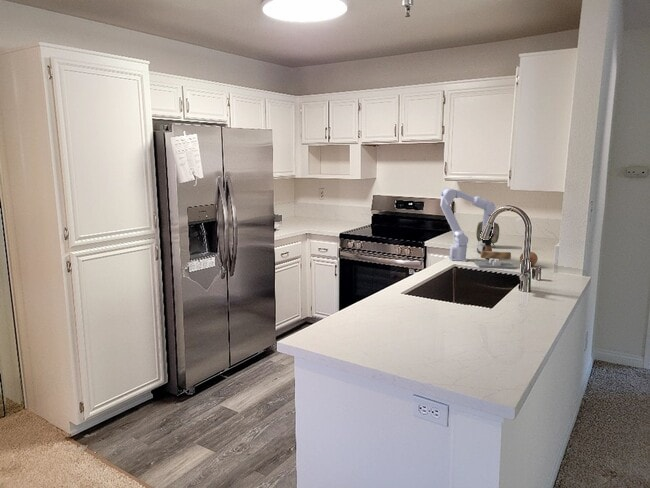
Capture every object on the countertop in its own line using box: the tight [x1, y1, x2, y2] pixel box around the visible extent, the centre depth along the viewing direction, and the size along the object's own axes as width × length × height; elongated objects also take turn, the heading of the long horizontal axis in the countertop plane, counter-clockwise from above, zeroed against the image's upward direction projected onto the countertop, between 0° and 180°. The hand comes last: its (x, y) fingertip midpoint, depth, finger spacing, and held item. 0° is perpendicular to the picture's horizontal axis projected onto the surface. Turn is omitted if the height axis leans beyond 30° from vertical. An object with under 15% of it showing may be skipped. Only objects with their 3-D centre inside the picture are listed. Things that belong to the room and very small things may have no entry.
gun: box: [476, 239, 493, 260], centre depth 300 cm, size 5×27×15 cm, turn 174°
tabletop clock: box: [475, 221, 500, 249], centre depth 330 cm, size 14×9×25 cm, turn 76°
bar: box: [480, 250, 512, 260], centre depth 270 cm, size 16×3×4 cm, turn 85°
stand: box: [473, 258, 517, 270], centre depth 270 cm, size 20×12×5 cm, turn 85°
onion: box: [519, 251, 539, 267], centre depth 272 cm, size 10×9×10 cm
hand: (485, 244), depth 284 cm, fingers open, 7 cm apart
